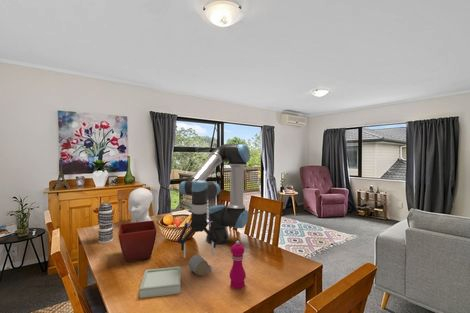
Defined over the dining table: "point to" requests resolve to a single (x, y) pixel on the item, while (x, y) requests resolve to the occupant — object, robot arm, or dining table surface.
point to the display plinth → (160, 282)
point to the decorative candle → (105, 223)
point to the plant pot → (137, 240)
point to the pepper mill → (237, 267)
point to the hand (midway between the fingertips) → (198, 255)
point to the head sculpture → (140, 204)
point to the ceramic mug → (199, 265)
